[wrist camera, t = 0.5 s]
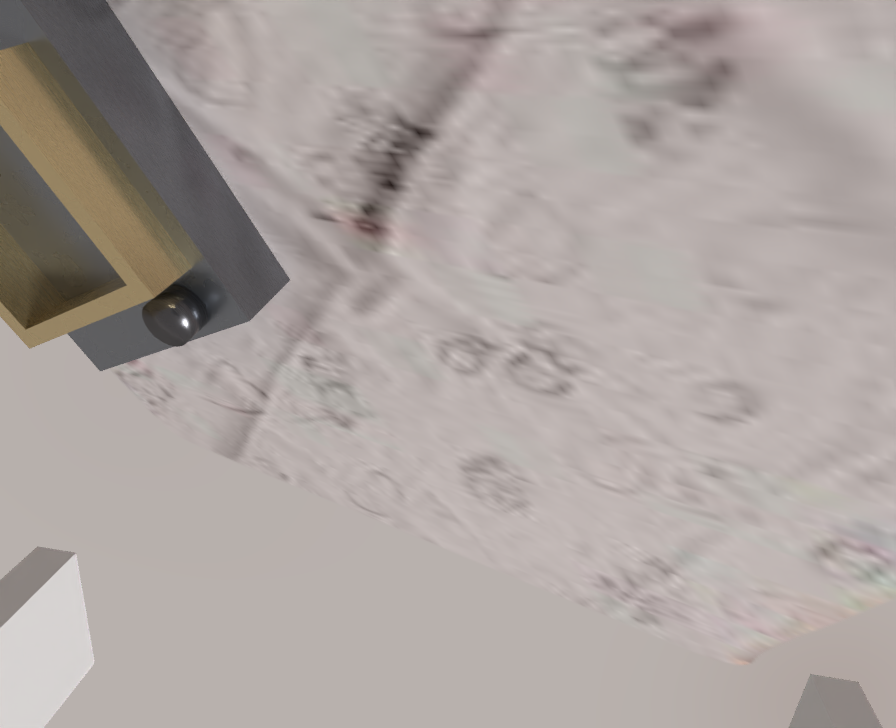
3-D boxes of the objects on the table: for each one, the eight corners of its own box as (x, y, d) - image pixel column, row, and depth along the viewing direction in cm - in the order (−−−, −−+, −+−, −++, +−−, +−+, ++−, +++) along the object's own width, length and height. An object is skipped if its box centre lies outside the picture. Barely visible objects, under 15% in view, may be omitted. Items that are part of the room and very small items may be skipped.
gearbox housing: (-77, 59, 43) (-216, 98, 36) (56, -74, 34) (-94, -53, 28) (145, 333, 52) (64, 401, 46) (289, 280, 44) (216, 354, 38)
